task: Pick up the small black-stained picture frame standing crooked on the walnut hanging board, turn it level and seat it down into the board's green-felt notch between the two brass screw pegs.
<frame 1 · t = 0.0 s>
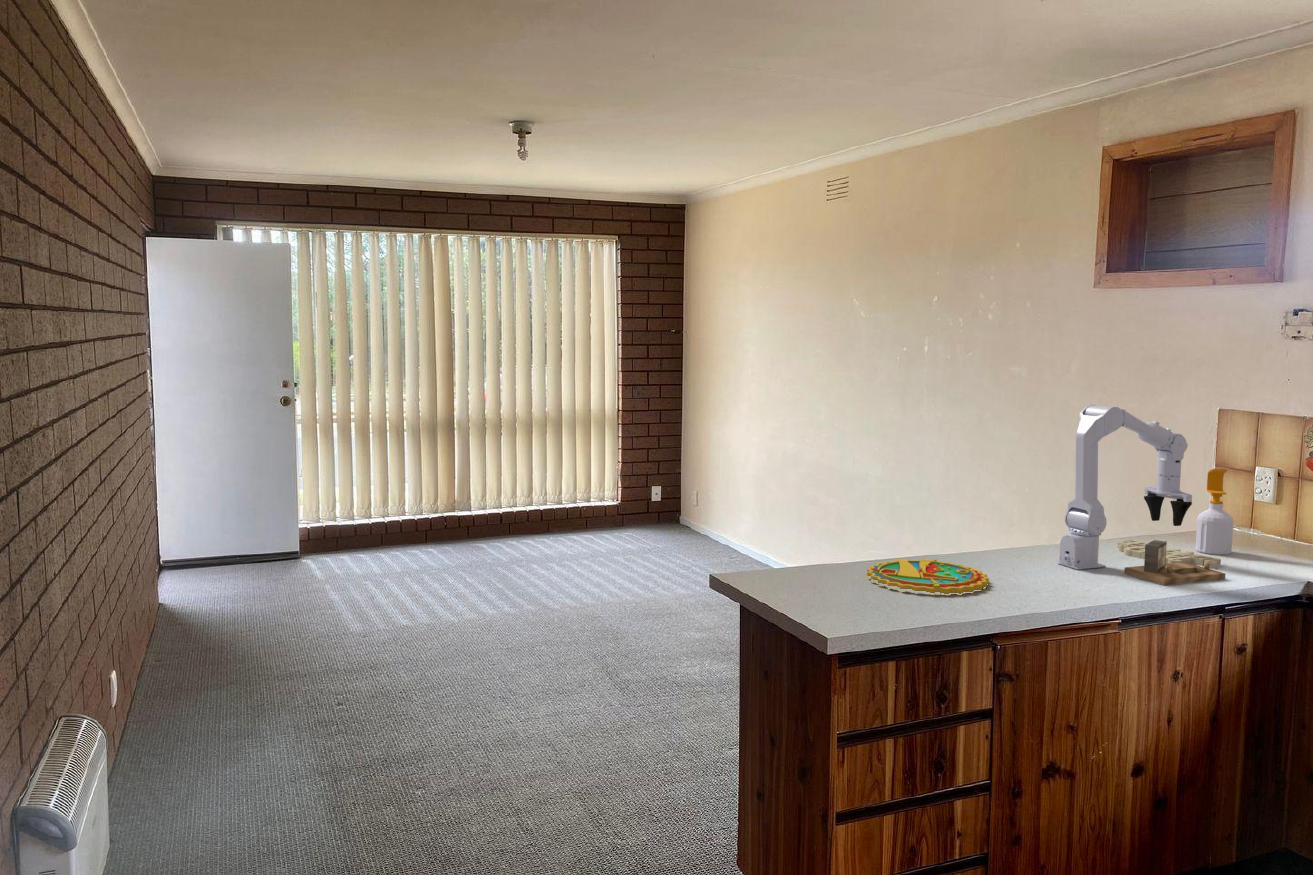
hand: (1166, 523, 268), 10 cm above the worktop, fingers open, 7 cm apart
soap bottle: (1213, 552, 277), on the worktop
decorative sign: (1161, 559, 270), on the worktop
board: (1174, 576, 249), on the worktop
decorative plaque: (926, 582, 245), on the worktop
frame: (1154, 569, 250), point 2 cm above the worktop, touching board
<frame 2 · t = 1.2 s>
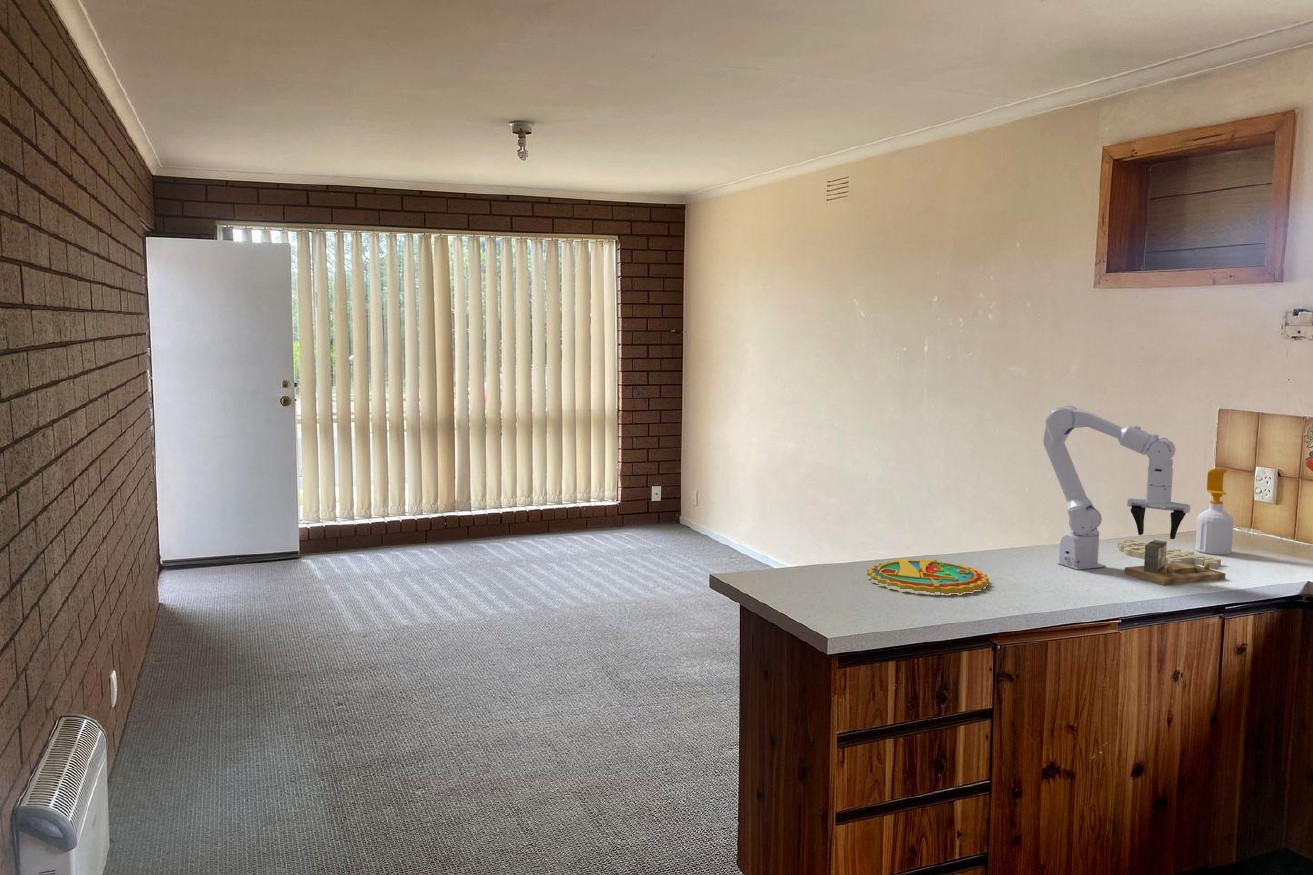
hand: (1156, 536, 249), 10 cm above the worktop, fingers open, 7 cm apart
nothing on the worktop moved.
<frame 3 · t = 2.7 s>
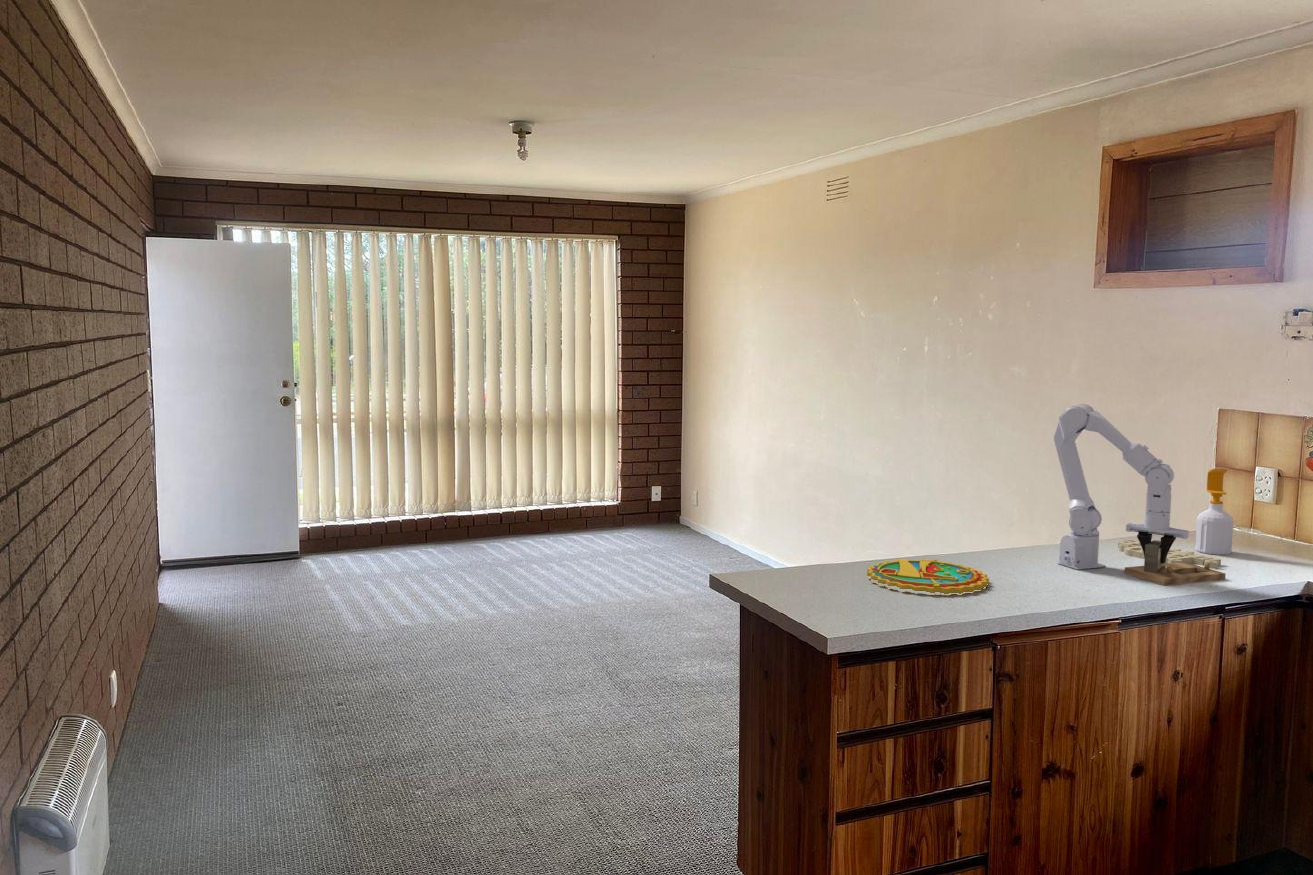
hand: (1155, 561, 250), 4 cm above the worktop, fingers closed on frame, 3 cm apart
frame: (1154, 569, 250), point 2 cm above the worktop, touching board, gripper
everything else where it was.
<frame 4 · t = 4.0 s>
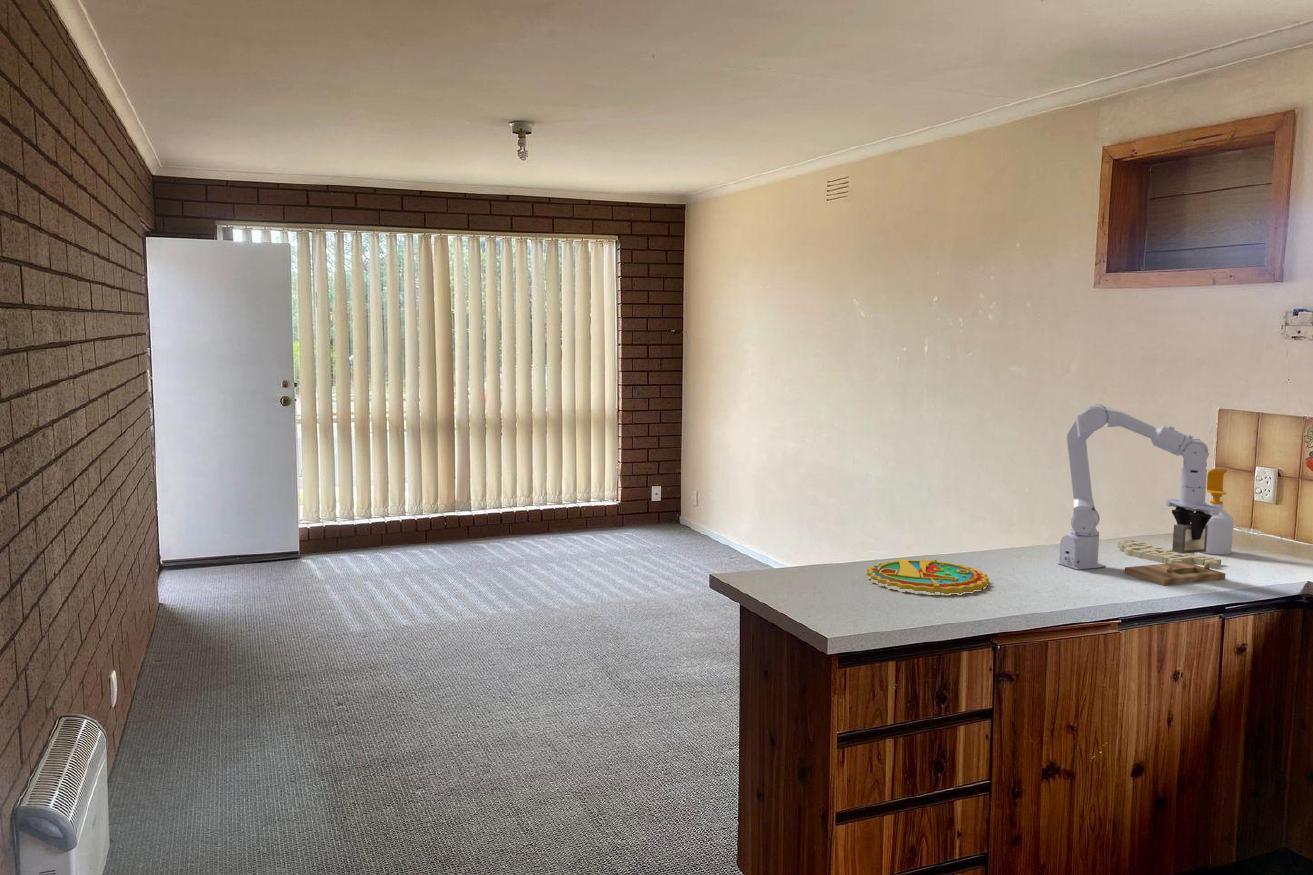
hand: (1190, 538, 247), 10 cm above the worktop, fingers closed on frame, 3 cm apart
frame: (1189, 551, 248), point 7 cm above the worktop, touching gripper
everything else where it was.
when the fingers open (3 cm above the worktop, at t = 5.4 s): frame stays where it is, resting on board.
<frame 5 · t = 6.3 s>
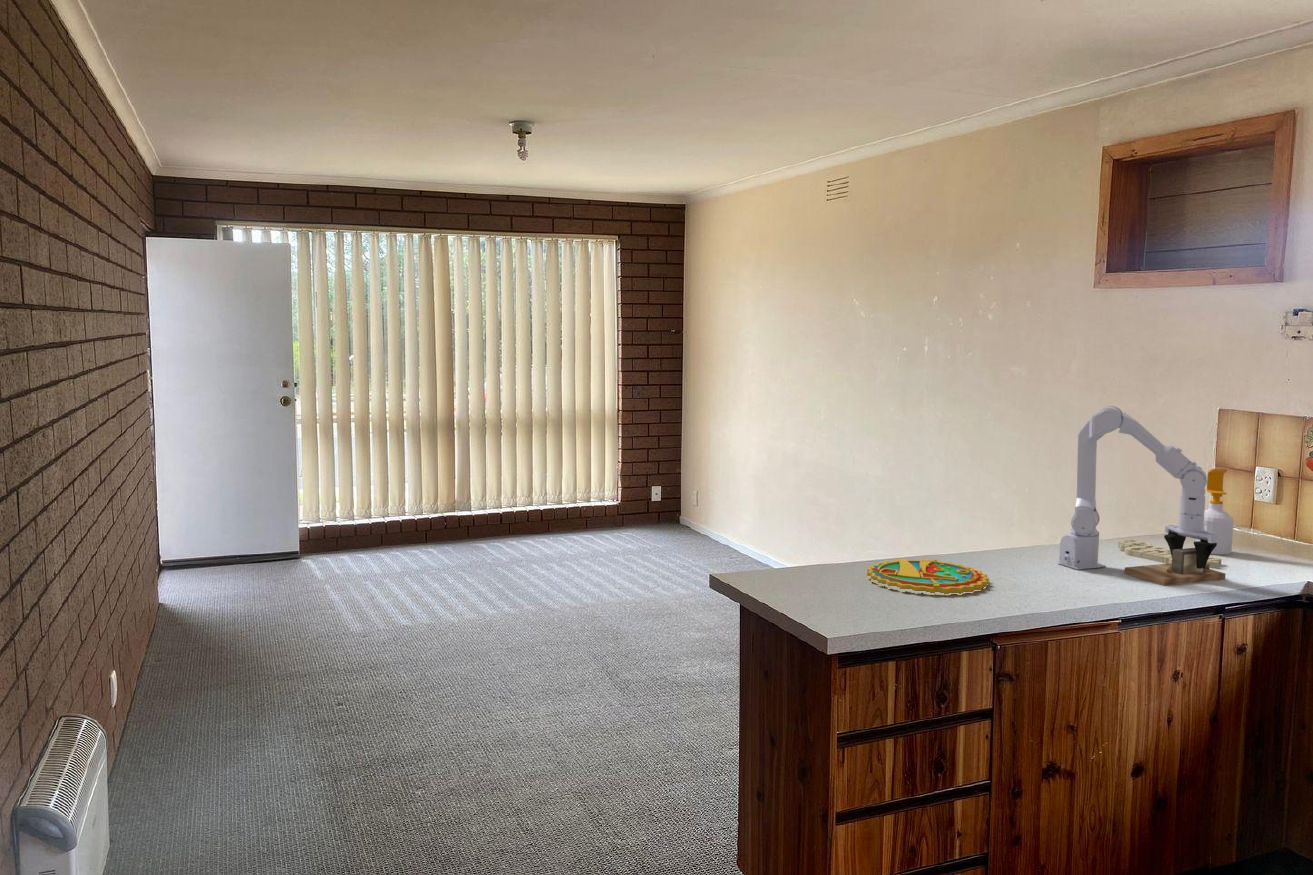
hand: (1188, 564, 248), 3 cm above the worktop, fingers open, 7 cm apart
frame: (1187, 576, 248), resting on board
everything else where it was.
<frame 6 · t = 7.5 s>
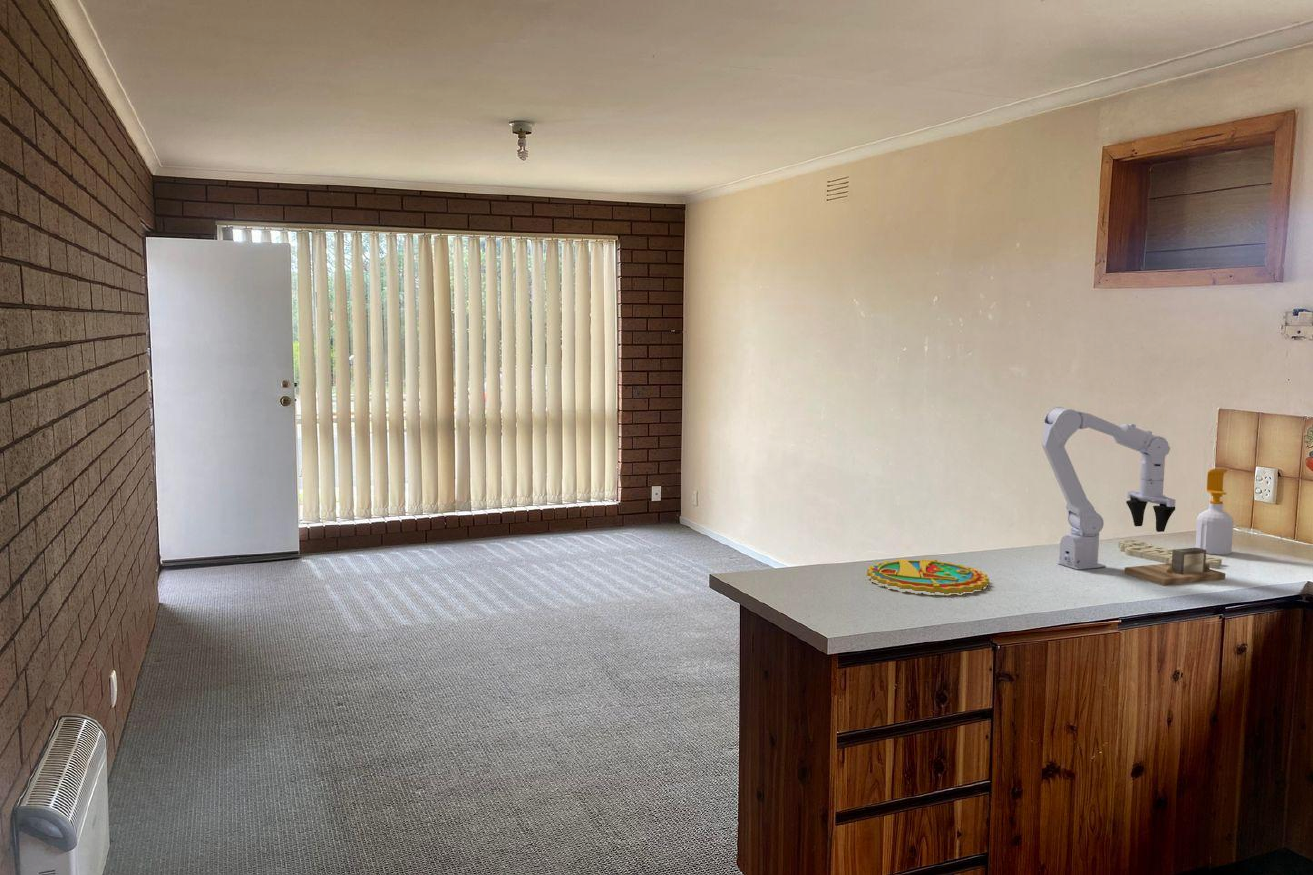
hand: (1149, 528, 259), 10 cm above the worktop, fingers open, 7 cm apart
nothing on the worktop moved.
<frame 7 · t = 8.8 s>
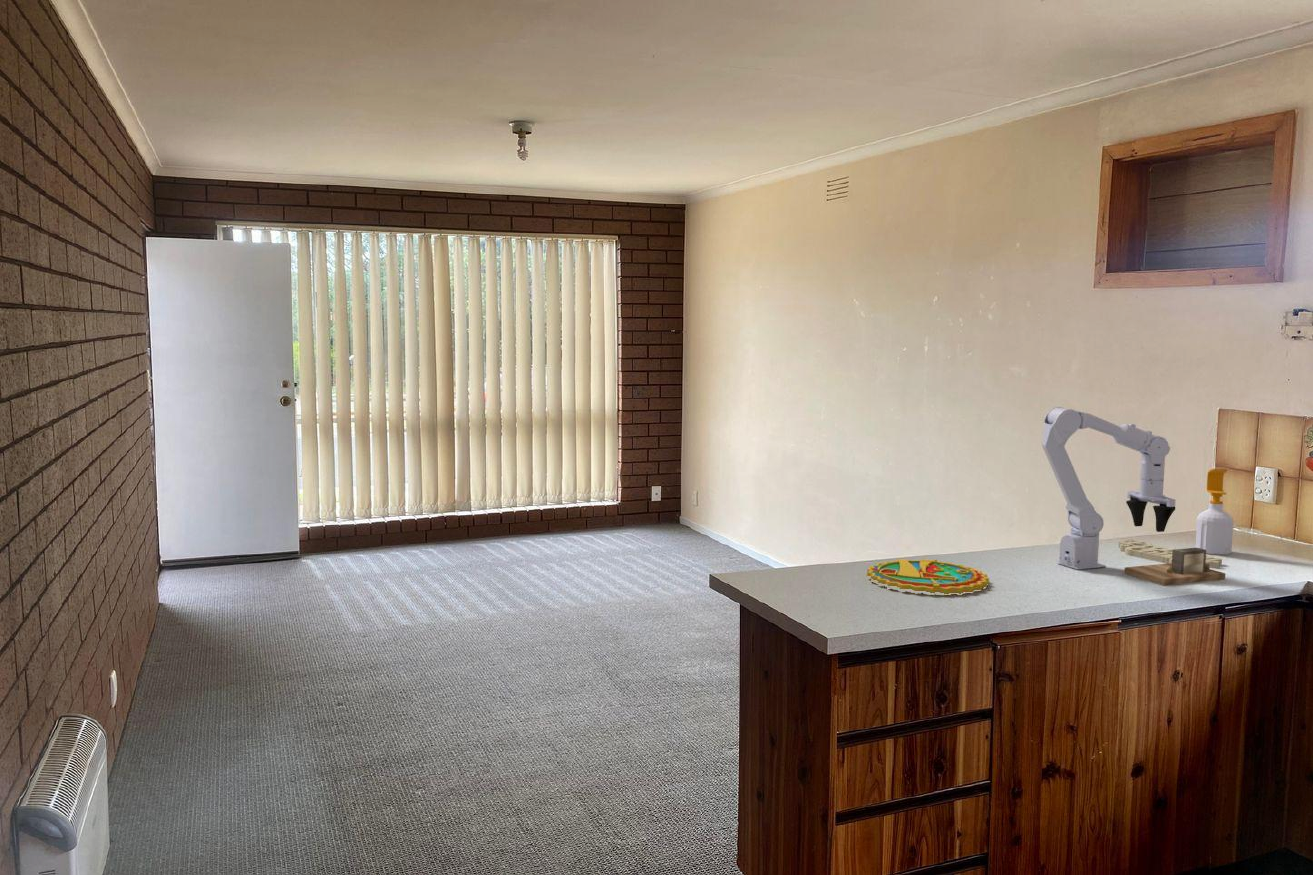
hand: (1149, 528, 259), 10 cm above the worktop, fingers open, 7 cm apart
nothing on the worktop moved.
at the end: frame 0.0 cm from the target spot on the board, point 0.2 cm above the board's base; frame tilted 0°; the gripper is holding nothing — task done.
